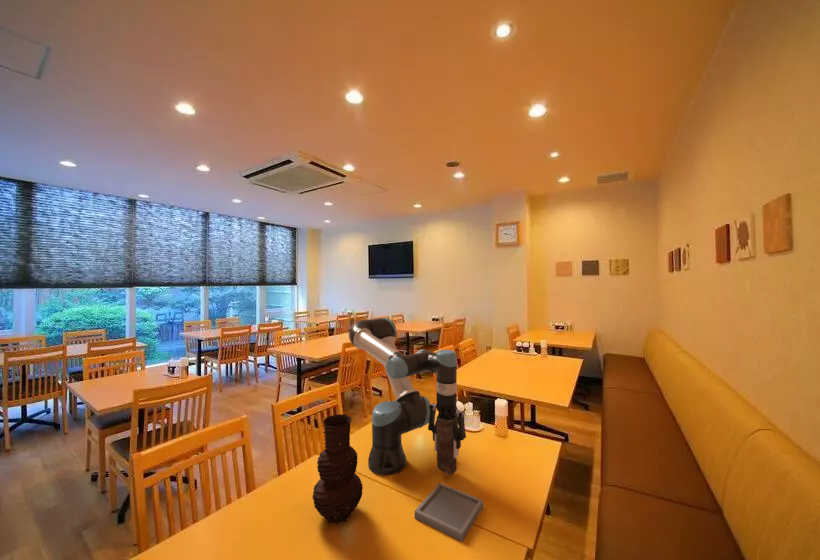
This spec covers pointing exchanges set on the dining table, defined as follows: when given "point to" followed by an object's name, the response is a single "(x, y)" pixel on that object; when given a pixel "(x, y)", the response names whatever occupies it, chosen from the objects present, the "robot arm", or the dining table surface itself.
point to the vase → (337, 473)
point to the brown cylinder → (445, 446)
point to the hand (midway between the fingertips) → (446, 452)
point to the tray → (449, 511)
